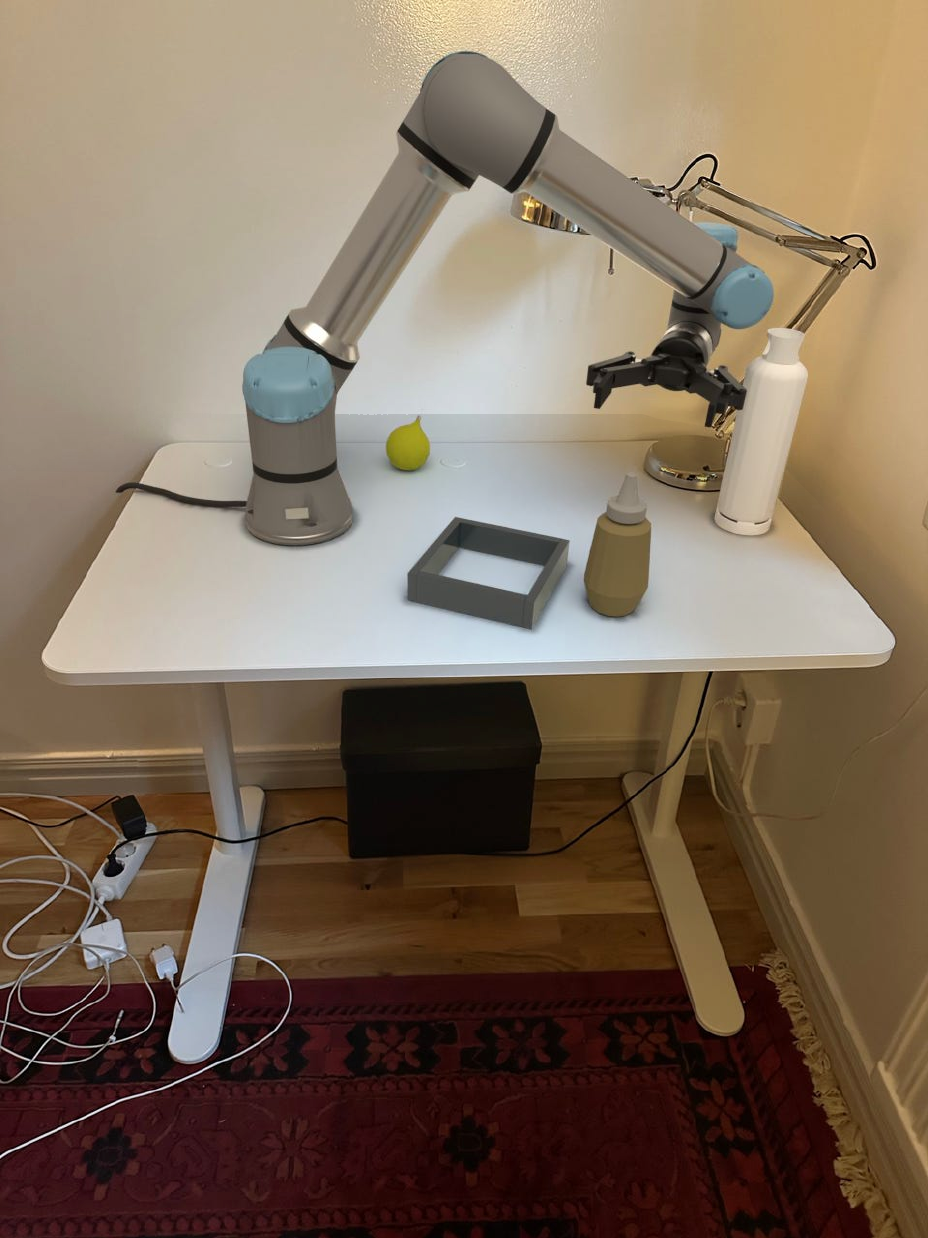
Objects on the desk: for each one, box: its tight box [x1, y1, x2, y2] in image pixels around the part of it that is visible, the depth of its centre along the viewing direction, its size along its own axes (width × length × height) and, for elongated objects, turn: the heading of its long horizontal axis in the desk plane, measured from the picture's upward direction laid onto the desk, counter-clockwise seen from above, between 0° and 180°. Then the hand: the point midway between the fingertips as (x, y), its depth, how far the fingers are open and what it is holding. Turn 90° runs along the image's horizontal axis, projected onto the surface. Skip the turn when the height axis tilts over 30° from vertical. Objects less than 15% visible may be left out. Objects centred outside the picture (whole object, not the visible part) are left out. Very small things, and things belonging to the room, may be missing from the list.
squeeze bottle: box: [583, 472, 652, 618], centre depth 107 cm, size 8×8×18 cm
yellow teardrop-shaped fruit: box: [385, 408, 431, 471], centre depth 141 cm, size 7×7×10 cm
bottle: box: [713, 327, 809, 536], centre depth 124 cm, size 8×8×28 cm
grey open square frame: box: [406, 516, 571, 630], centre depth 114 cm, size 16×16×4 cm
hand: (652, 407), depth 106 cm, fingers open, 13 cm apart
